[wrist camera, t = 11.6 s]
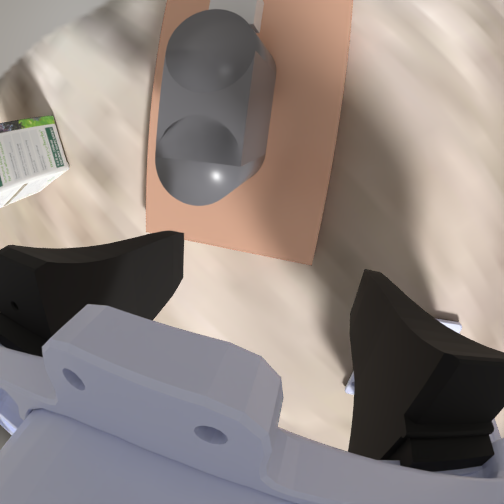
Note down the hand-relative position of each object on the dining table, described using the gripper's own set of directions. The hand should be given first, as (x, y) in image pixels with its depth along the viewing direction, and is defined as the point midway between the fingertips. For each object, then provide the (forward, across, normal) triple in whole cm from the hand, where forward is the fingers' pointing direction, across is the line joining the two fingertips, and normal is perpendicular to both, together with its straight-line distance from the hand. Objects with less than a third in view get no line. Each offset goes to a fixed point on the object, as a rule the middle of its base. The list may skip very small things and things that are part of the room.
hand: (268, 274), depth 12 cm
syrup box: (+10, +23, -2) cm, 25 cm away
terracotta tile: (+9, +4, -6) cm, 12 cm away
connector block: (+8, +4, -6) cm, 11 cm away
